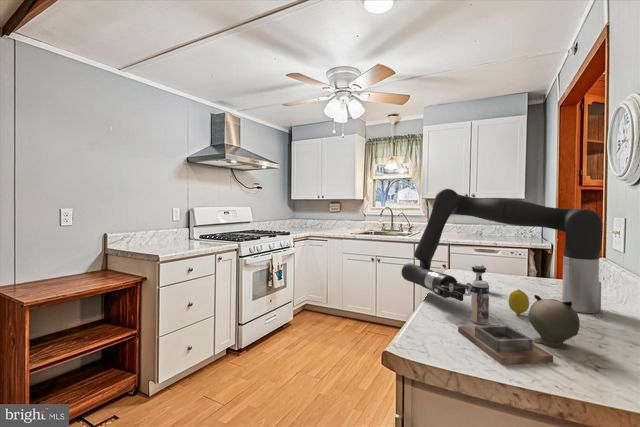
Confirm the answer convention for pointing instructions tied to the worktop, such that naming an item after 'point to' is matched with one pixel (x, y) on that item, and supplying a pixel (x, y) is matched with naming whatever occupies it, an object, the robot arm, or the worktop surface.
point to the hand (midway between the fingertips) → (474, 296)
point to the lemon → (518, 301)
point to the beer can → (480, 302)
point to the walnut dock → (505, 344)
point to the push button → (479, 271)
